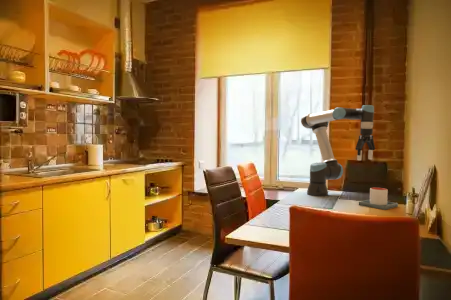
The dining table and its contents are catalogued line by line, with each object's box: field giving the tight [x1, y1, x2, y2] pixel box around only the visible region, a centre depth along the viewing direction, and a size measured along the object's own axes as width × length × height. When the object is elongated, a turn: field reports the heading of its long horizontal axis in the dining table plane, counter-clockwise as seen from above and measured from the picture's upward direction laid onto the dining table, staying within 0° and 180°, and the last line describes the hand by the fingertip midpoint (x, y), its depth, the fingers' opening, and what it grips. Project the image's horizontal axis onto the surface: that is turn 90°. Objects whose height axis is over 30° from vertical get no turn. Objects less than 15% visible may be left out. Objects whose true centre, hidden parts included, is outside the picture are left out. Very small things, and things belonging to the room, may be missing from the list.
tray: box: [358, 198, 399, 211], centre depth 206 cm, size 17×17×2 cm
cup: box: [369, 187, 389, 206], centre depth 206 cm, size 10×10×10 cm
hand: (364, 159), depth 222 cm, fingers open, 13 cm apart
